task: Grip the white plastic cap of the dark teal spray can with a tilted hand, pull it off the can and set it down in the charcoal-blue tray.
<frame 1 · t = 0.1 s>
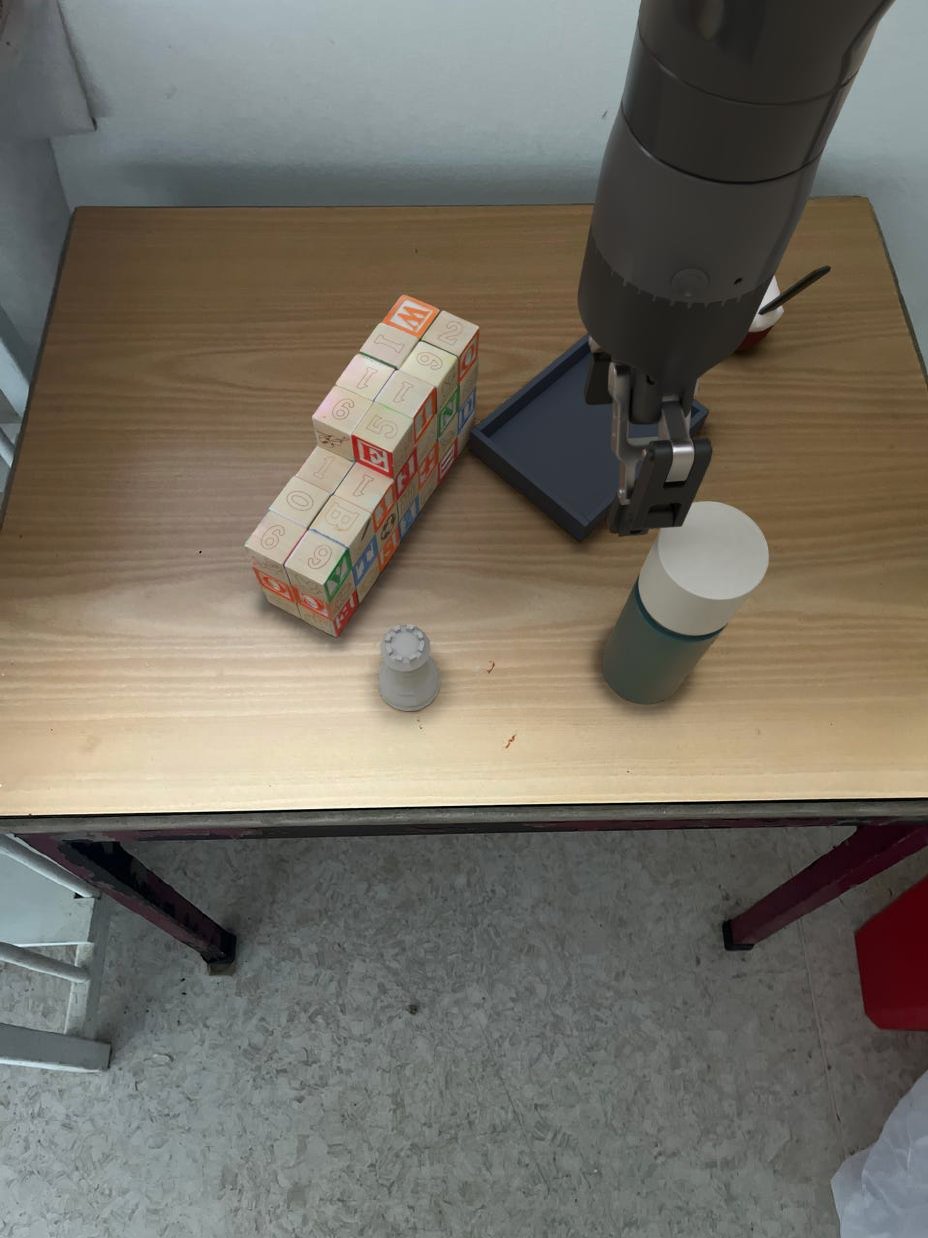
hand: (613, 460, 47), 18 cm above the table, tool pointing down, fingers open, 8 cm apart
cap: (688, 588, 50), point 13 cm above the table, touching spray can
stack of blocks: (377, 514, 67), on the table
tray: (586, 438, 70), on the table
cocoa: (730, 340, 74), on the table
spray can: (642, 665, 62), on the table
rook chess piece: (409, 684, 61), on the table
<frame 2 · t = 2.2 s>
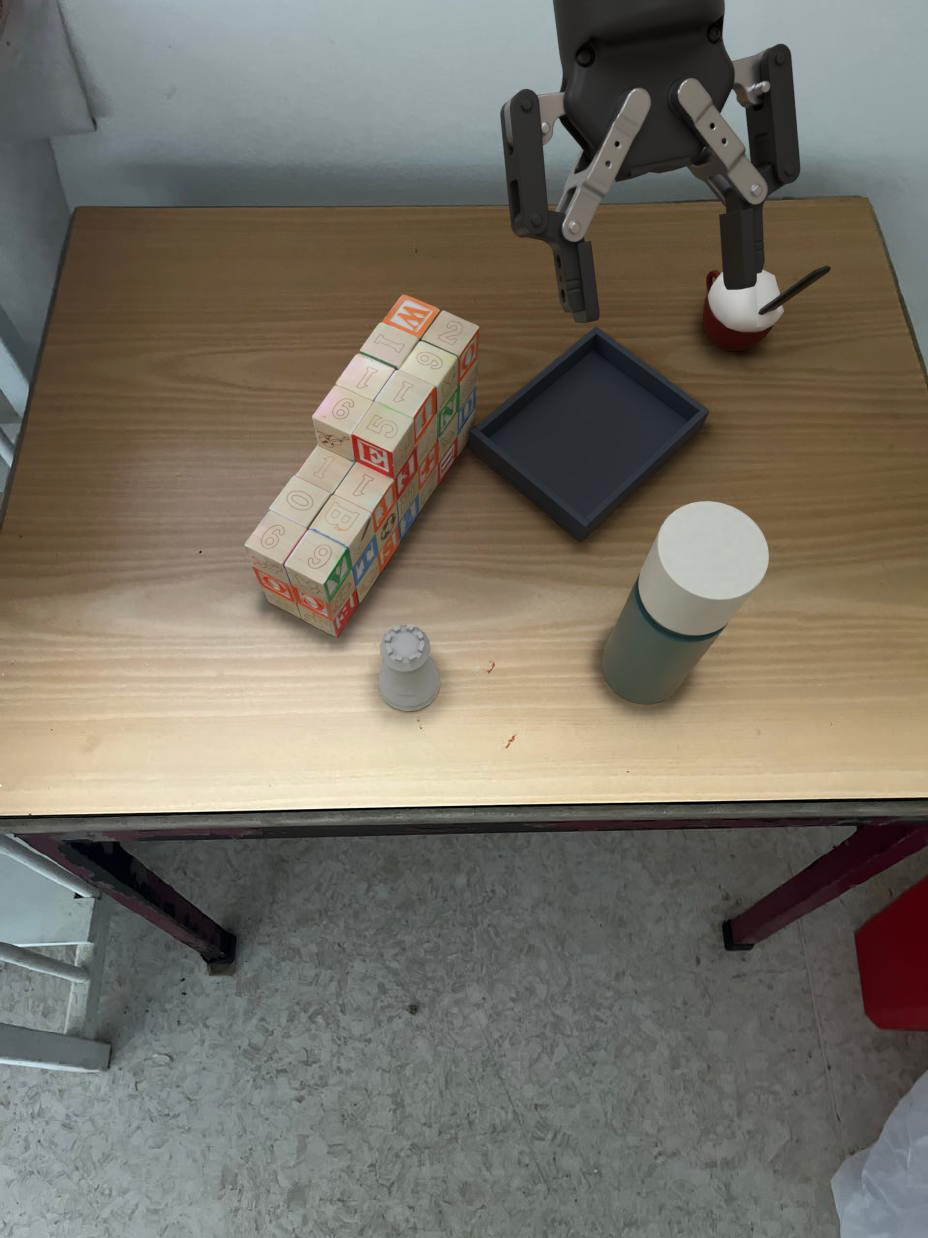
hand: (664, 304, 44), 24 cm above the table, tool tilted 45°, fingers open, 8 cm apart
nothing on the table moved.
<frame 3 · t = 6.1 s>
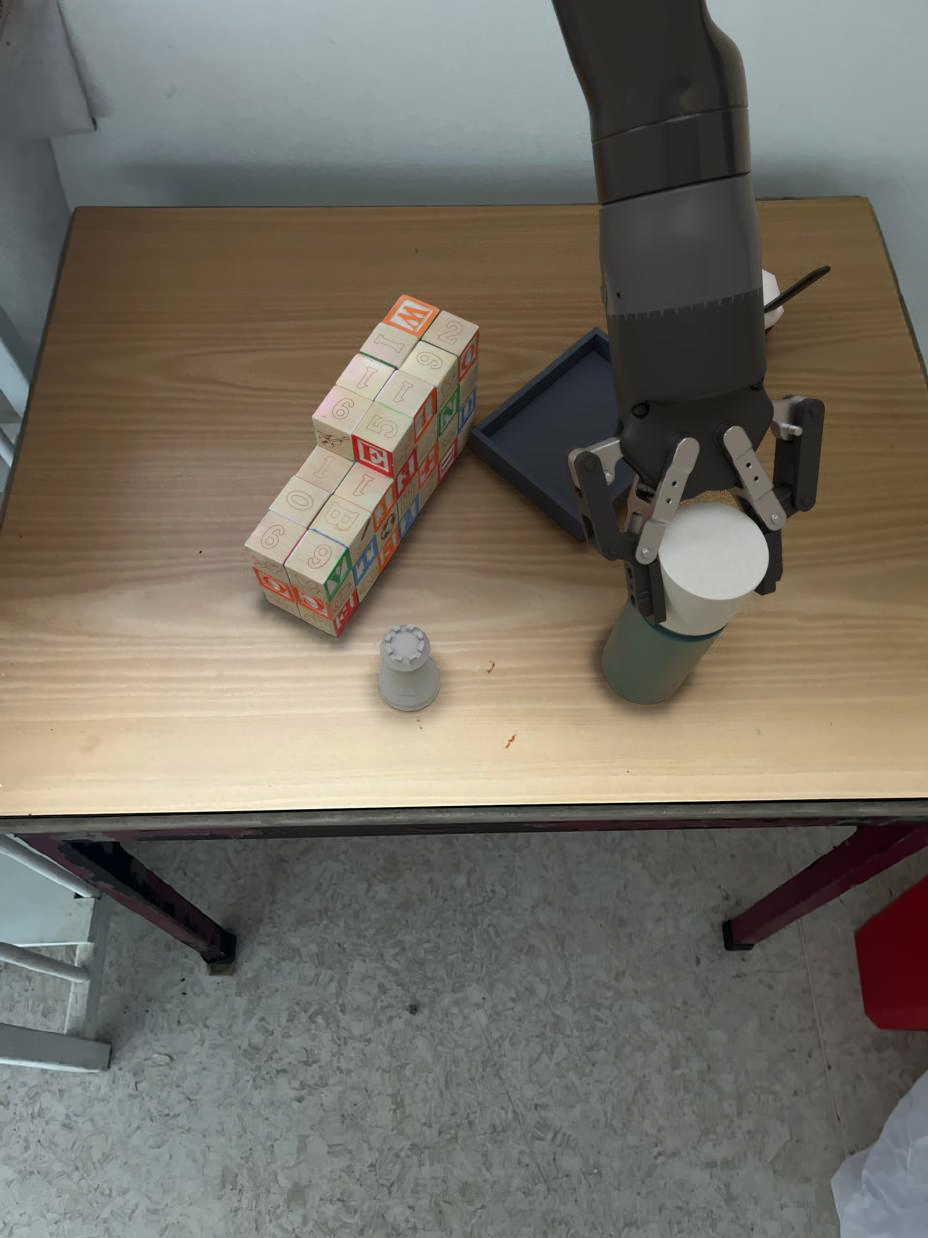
hand: (707, 603, 48), 15 cm above the table, tool tilted 45°, fingers closed on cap, 6 cm apart
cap: (688, 588, 50), point 13 cm above the table, touching gripper, spray can
everything else where it was.
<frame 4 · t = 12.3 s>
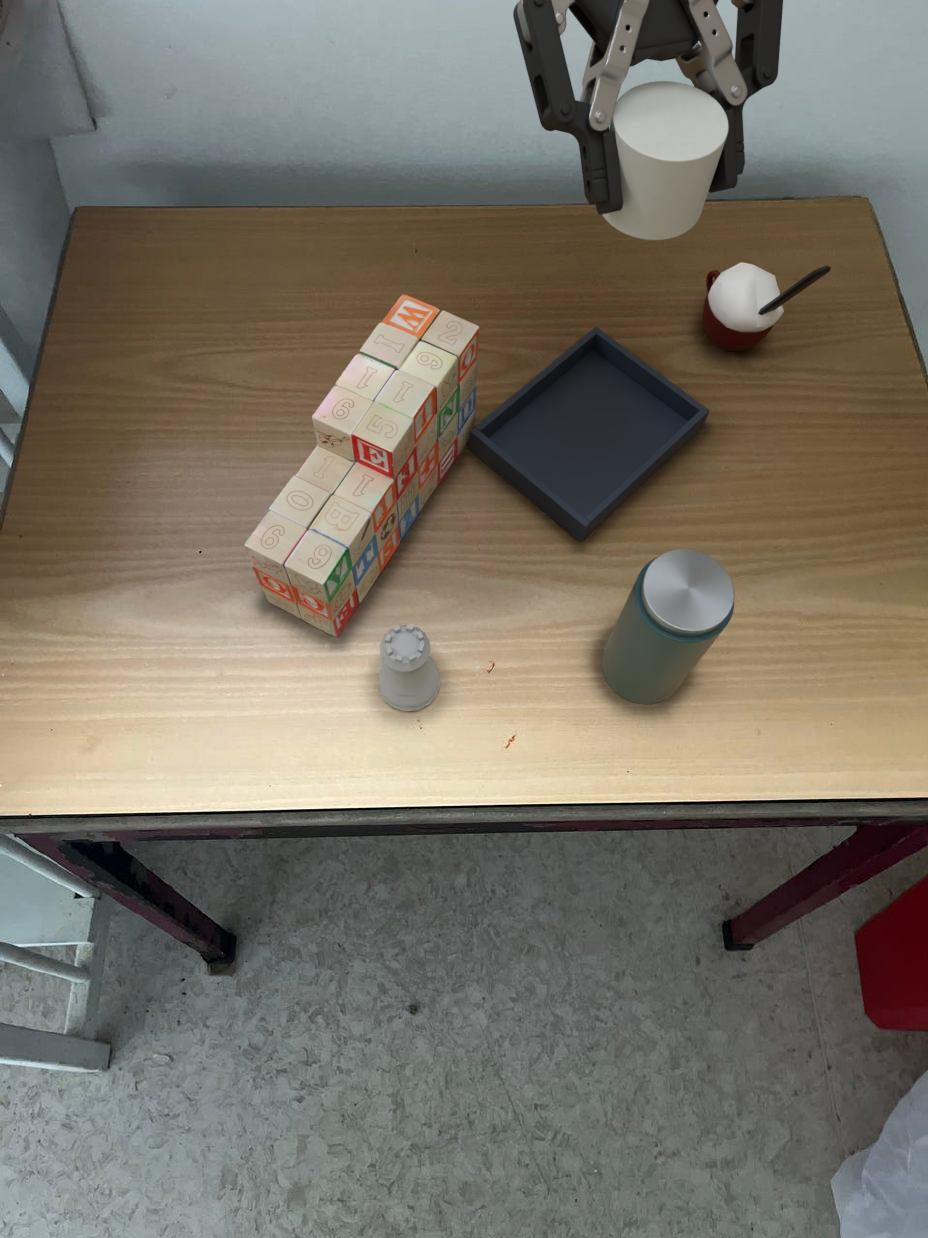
hand: (667, 199, 46), 25 cm above the table, tool tilted 45°, fingers closed on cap, 6 cm apart
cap: (649, 201, 48), point 23 cm above the table, touching gripper
everything else where it was.
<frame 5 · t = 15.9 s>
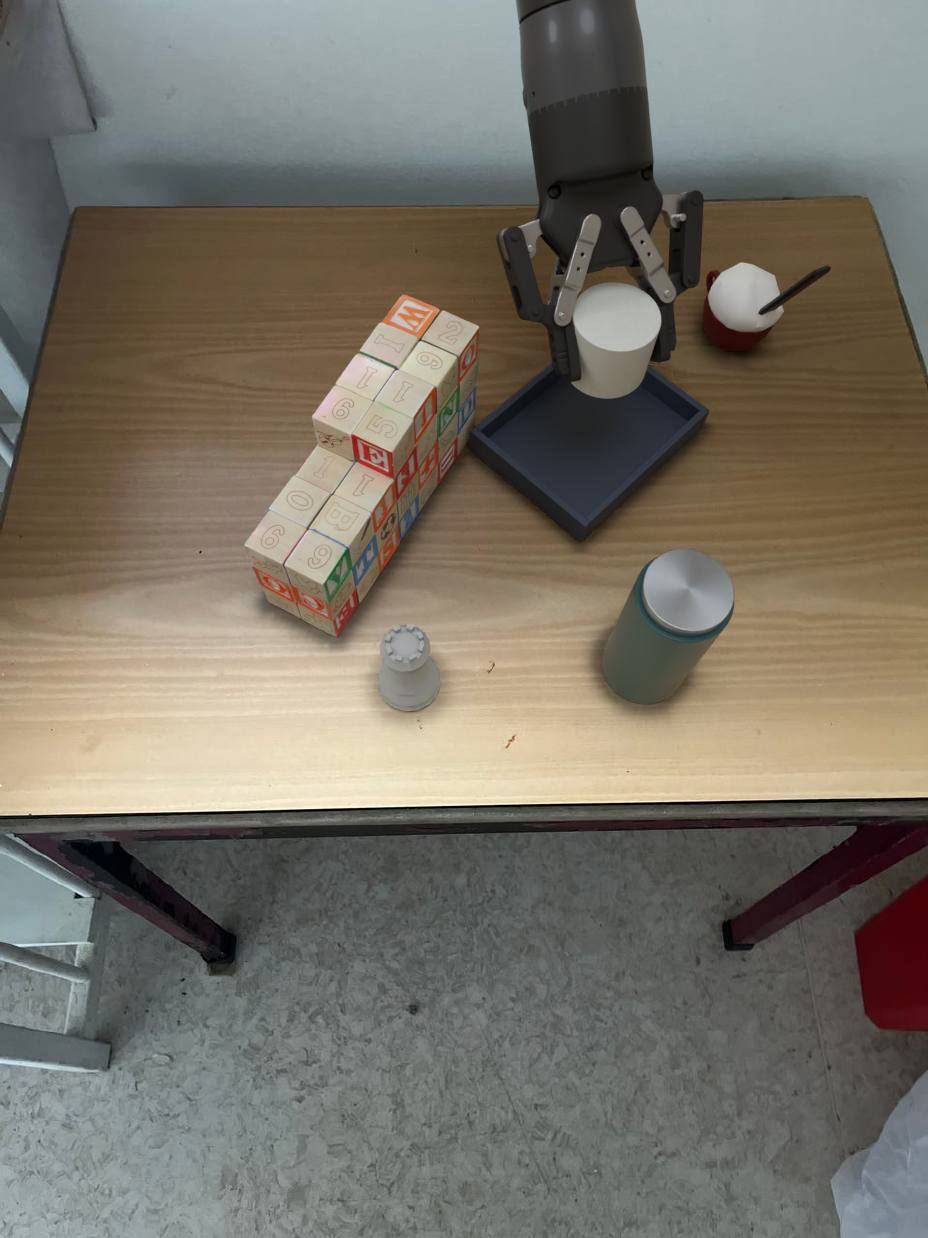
hand: (616, 369, 59), 11 cm above the table, tool tilted 45°, fingers closed on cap, 6 cm apart
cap: (604, 365, 61), point 9 cm above the table, touching gripper
everything else where it was.
when the fingers open (2 cm above the table, at t = 18.9 s): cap stays where it is, resting on tray.
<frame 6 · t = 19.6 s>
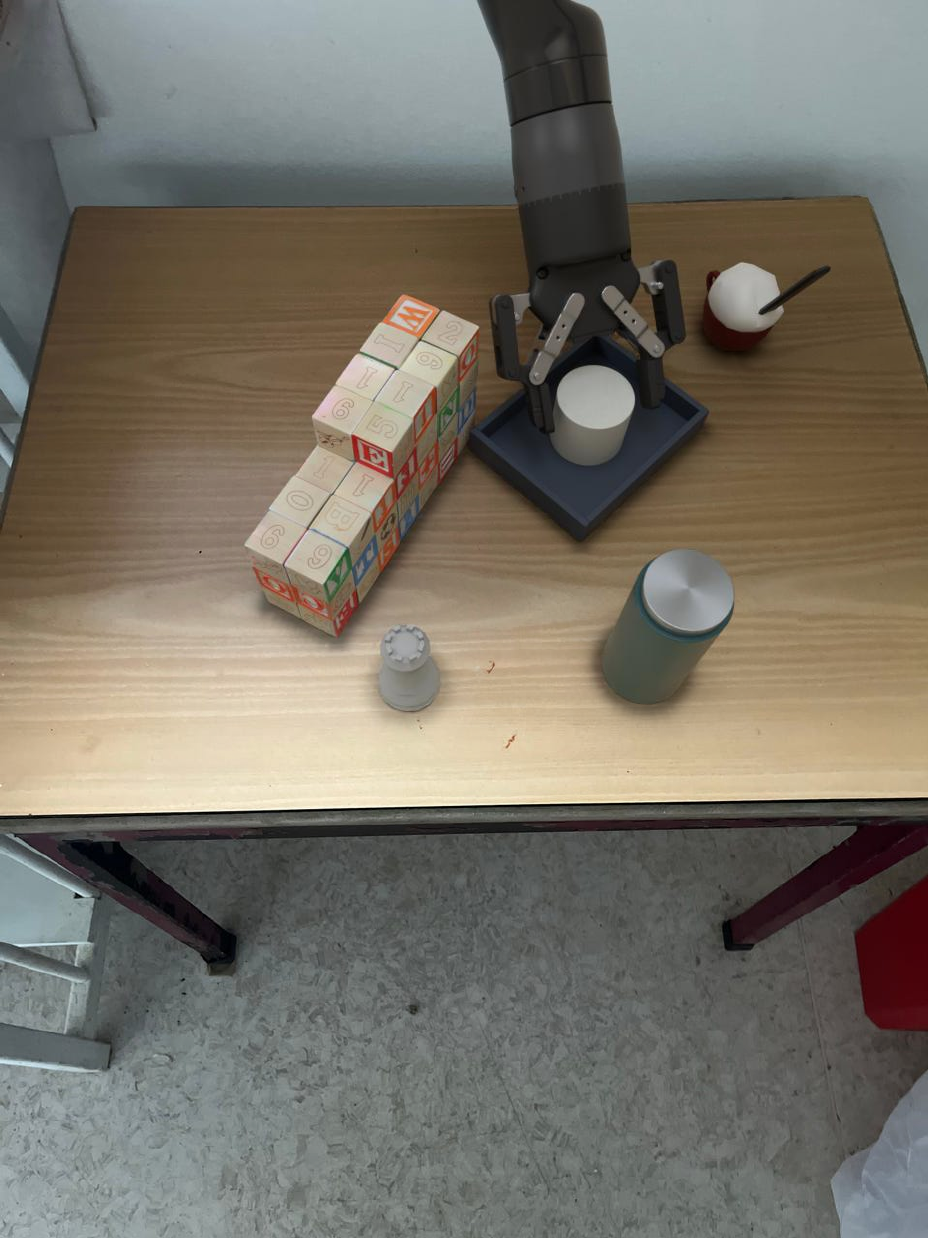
hand: (599, 419, 66), 4 cm above the table, tool tilted 45°, fingers open, 8 cm apart
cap: (586, 435, 69), resting on tray
everything else where it was.
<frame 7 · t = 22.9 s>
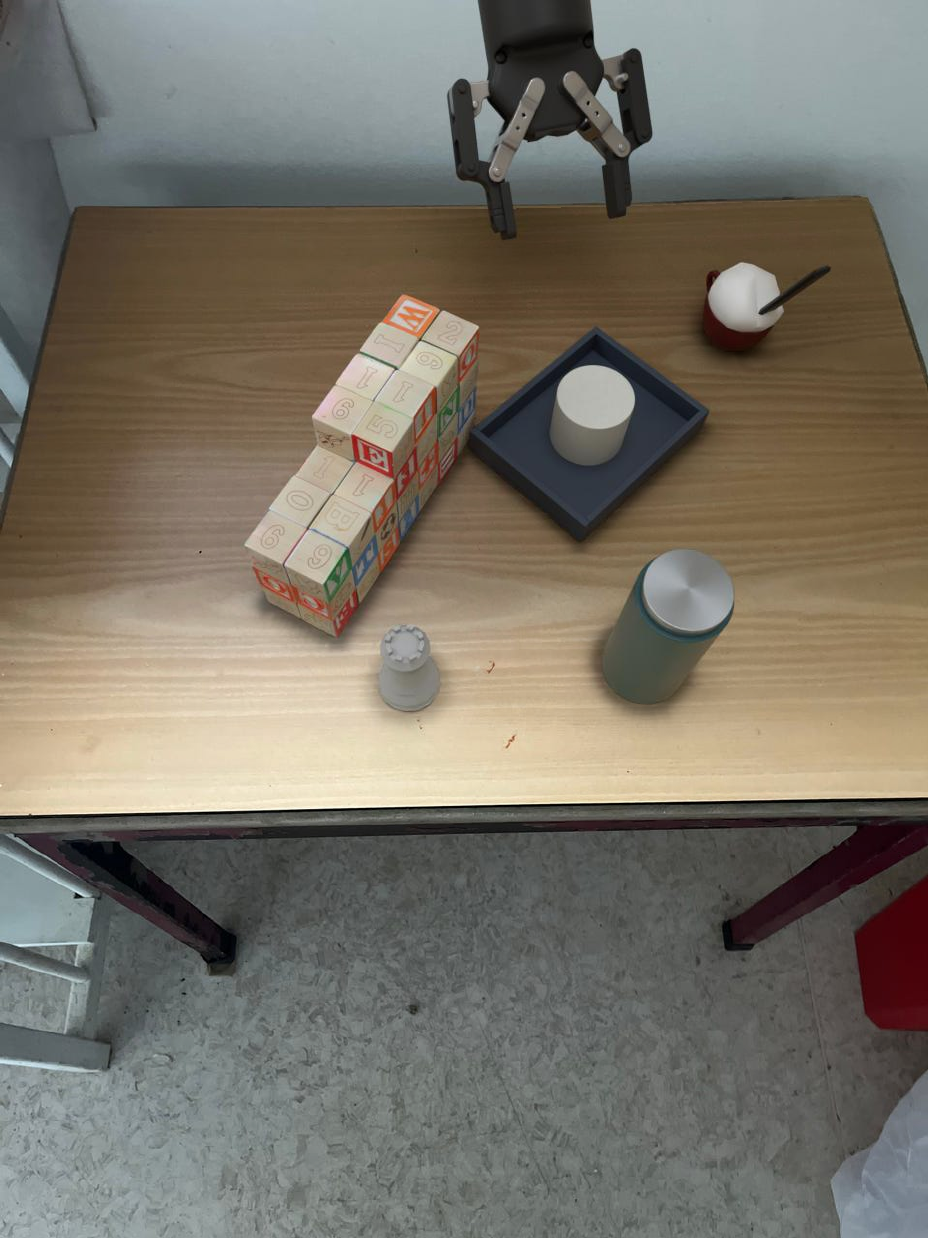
hand: (564, 228, 63), 12 cm above the table, tool tilted 45°, fingers open, 8 cm apart
nothing on the table moved.
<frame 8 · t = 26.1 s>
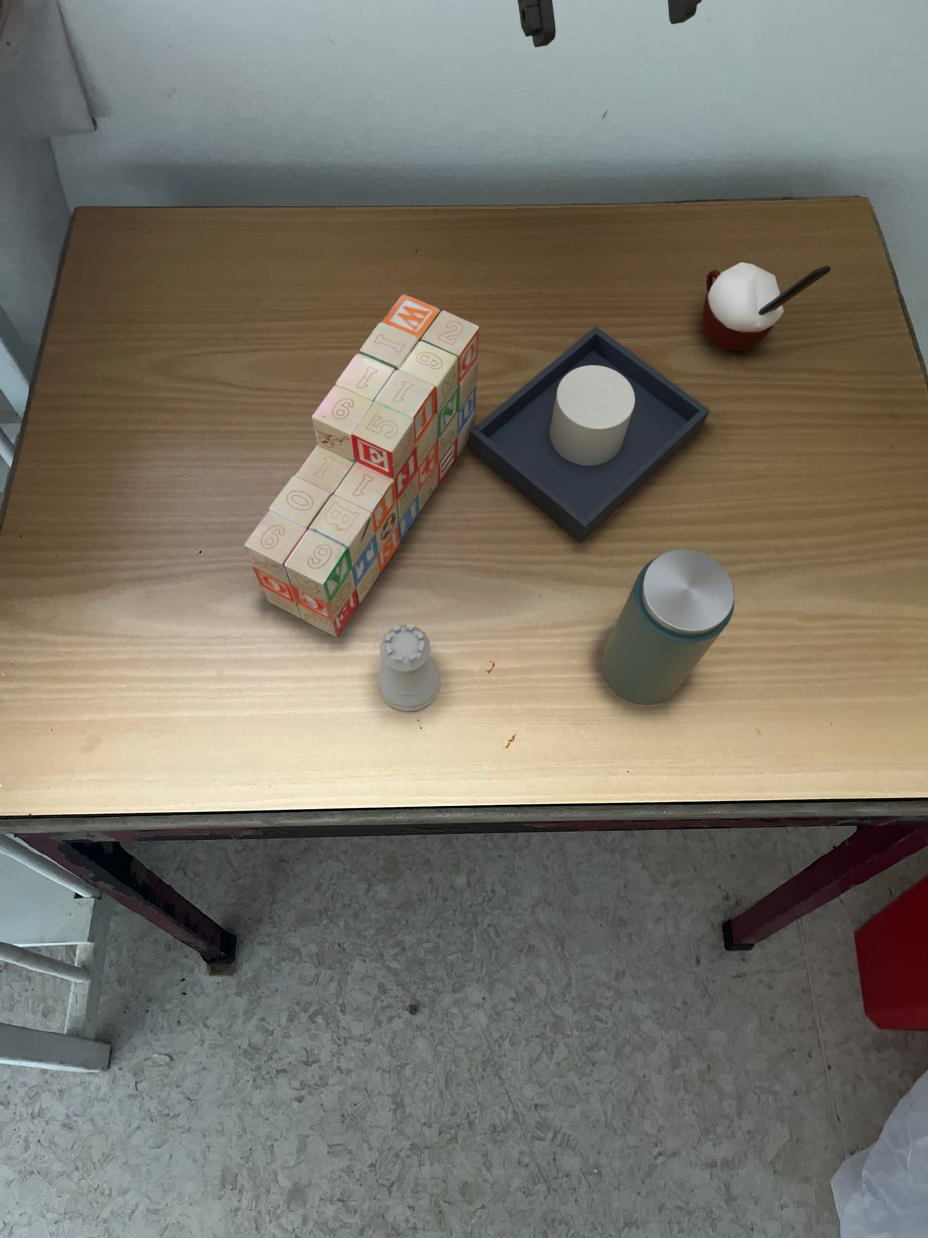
hand: (615, 31, 49), 27 cm above the table, tool tilted 45°, fingers open, 8 cm apart
nothing on the table moved.
at the end: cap inside the target area on the tray (0.1 cm from its centre), point 0.5 cm above the tray's base; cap touching tray; the gripper is holding nothing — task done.
